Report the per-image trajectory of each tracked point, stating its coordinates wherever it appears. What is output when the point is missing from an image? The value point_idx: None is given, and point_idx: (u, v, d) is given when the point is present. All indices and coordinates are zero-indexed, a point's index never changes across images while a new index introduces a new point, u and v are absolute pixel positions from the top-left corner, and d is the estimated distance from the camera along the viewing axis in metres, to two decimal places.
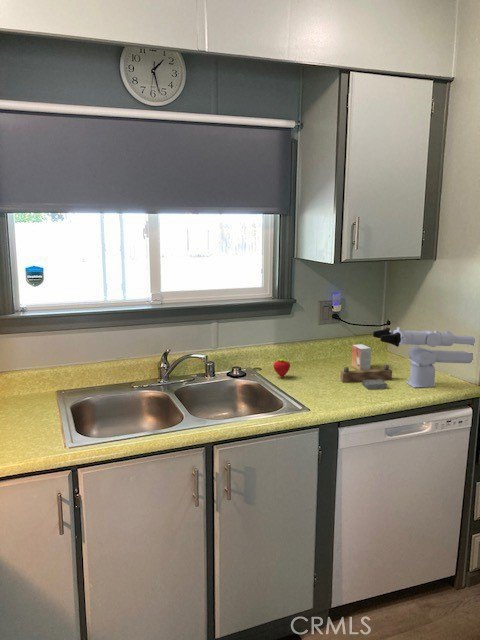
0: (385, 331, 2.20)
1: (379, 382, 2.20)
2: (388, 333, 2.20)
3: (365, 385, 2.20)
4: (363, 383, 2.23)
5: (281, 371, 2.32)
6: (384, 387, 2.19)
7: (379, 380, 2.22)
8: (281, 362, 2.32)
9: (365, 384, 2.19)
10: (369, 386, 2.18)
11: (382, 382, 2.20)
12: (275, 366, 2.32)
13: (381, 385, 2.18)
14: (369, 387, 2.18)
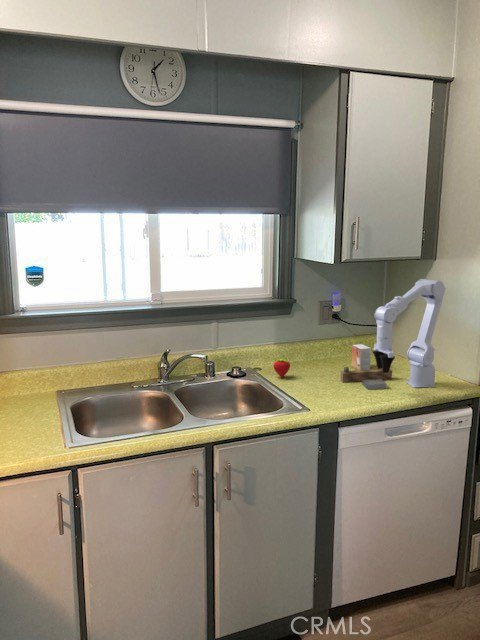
0: (377, 356, 2.13)
1: (379, 382, 2.20)
2: (379, 353, 2.13)
3: (365, 385, 2.20)
4: (363, 383, 2.23)
5: (281, 371, 2.32)
6: (384, 387, 2.19)
7: (379, 380, 2.22)
8: (281, 362, 2.32)
9: (365, 384, 2.19)
10: (369, 386, 2.18)
11: (382, 382, 2.20)
12: (275, 366, 2.32)
13: (381, 385, 2.18)
14: (369, 387, 2.18)
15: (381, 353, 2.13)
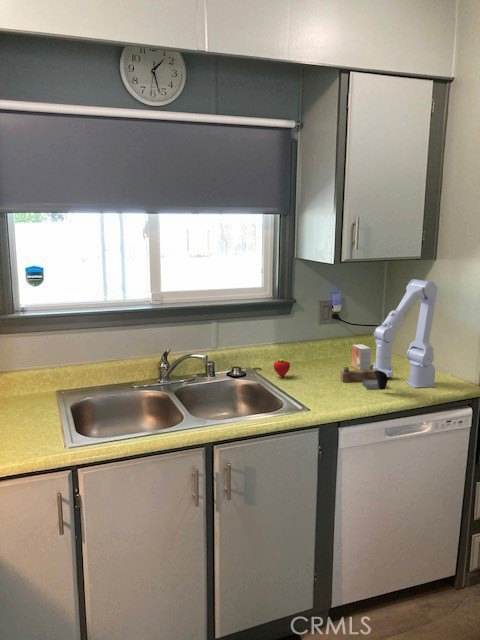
0: None
1: None
2: None
3: (365, 385, 2.20)
4: (363, 383, 2.23)
5: (281, 371, 2.32)
6: None
7: None
8: (281, 362, 2.32)
9: (365, 384, 2.20)
10: (369, 386, 2.18)
11: None
12: (275, 366, 2.32)
13: None
14: (369, 387, 2.18)
15: None
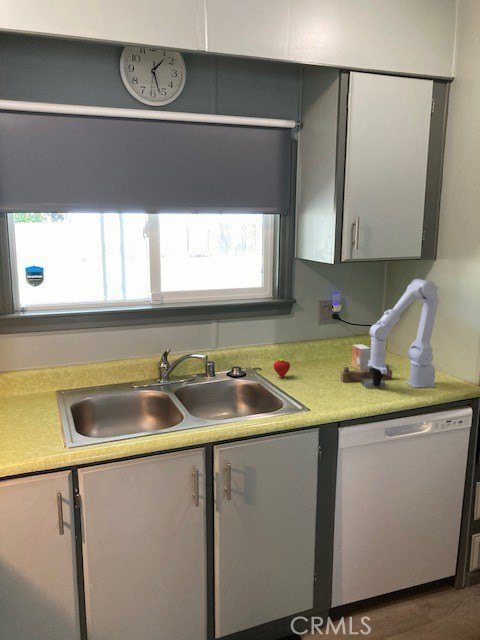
0: None
1: None
2: None
3: (364, 384, 2.21)
4: (361, 382, 2.24)
5: (281, 371, 2.32)
6: (383, 386, 2.20)
7: None
8: (281, 362, 2.32)
9: (364, 383, 2.21)
10: (368, 385, 2.19)
11: (381, 381, 2.21)
12: (275, 366, 2.32)
13: None
14: (368, 386, 2.19)
15: None
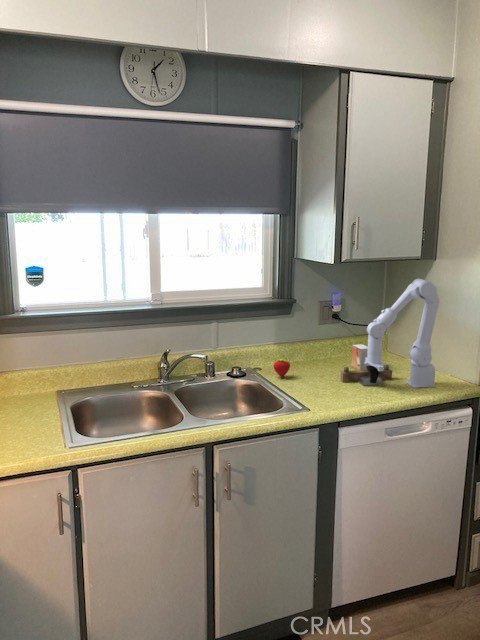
0: None
1: None
2: None
3: (361, 381, 2.24)
4: (358, 379, 2.27)
5: (281, 371, 2.32)
6: (379, 383, 2.23)
7: None
8: (281, 362, 2.32)
9: (361, 380, 2.24)
10: (364, 382, 2.22)
11: (377, 378, 2.24)
12: (275, 366, 2.32)
13: None
14: (364, 383, 2.22)
15: None
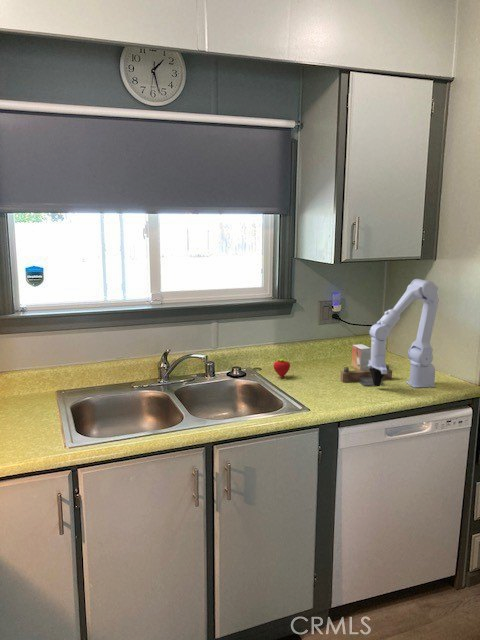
0: None
1: None
2: None
3: (361, 382, 2.24)
4: (358, 380, 2.27)
5: (281, 371, 2.32)
6: None
7: None
8: (281, 362, 2.32)
9: (361, 381, 2.24)
10: (365, 383, 2.22)
11: None
12: (275, 366, 2.32)
13: None
14: (365, 384, 2.22)
15: None
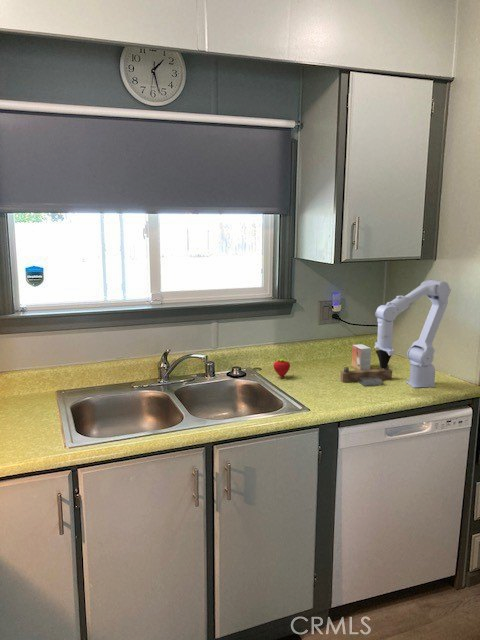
0: None
1: (374, 379, 2.24)
2: None
3: (361, 382, 2.24)
4: (358, 380, 2.27)
5: (281, 371, 2.32)
6: (379, 384, 2.23)
7: (374, 377, 2.27)
8: (281, 362, 2.32)
9: (361, 381, 2.24)
10: (365, 383, 2.22)
11: (377, 379, 2.24)
12: (275, 366, 2.32)
13: (376, 381, 2.23)
14: (365, 384, 2.22)
15: None
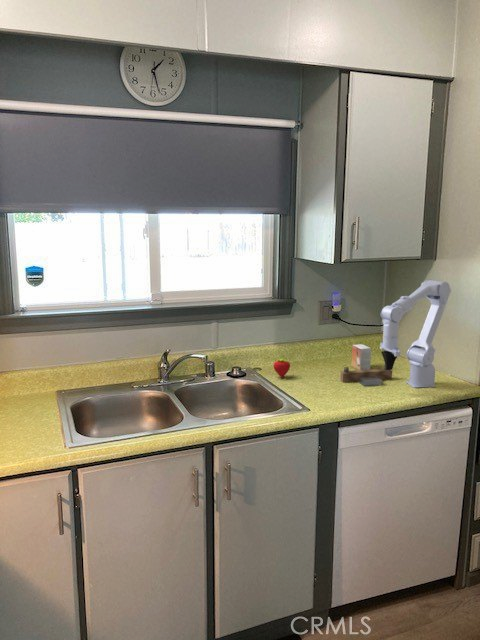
0: None
1: (374, 379, 2.24)
2: None
3: (361, 382, 2.24)
4: (358, 380, 2.27)
5: (281, 371, 2.32)
6: (379, 384, 2.23)
7: (374, 377, 2.27)
8: (281, 362, 2.32)
9: (361, 381, 2.24)
10: (365, 383, 2.22)
11: (377, 379, 2.24)
12: (275, 366, 2.32)
13: (376, 381, 2.23)
14: (365, 384, 2.22)
15: None
